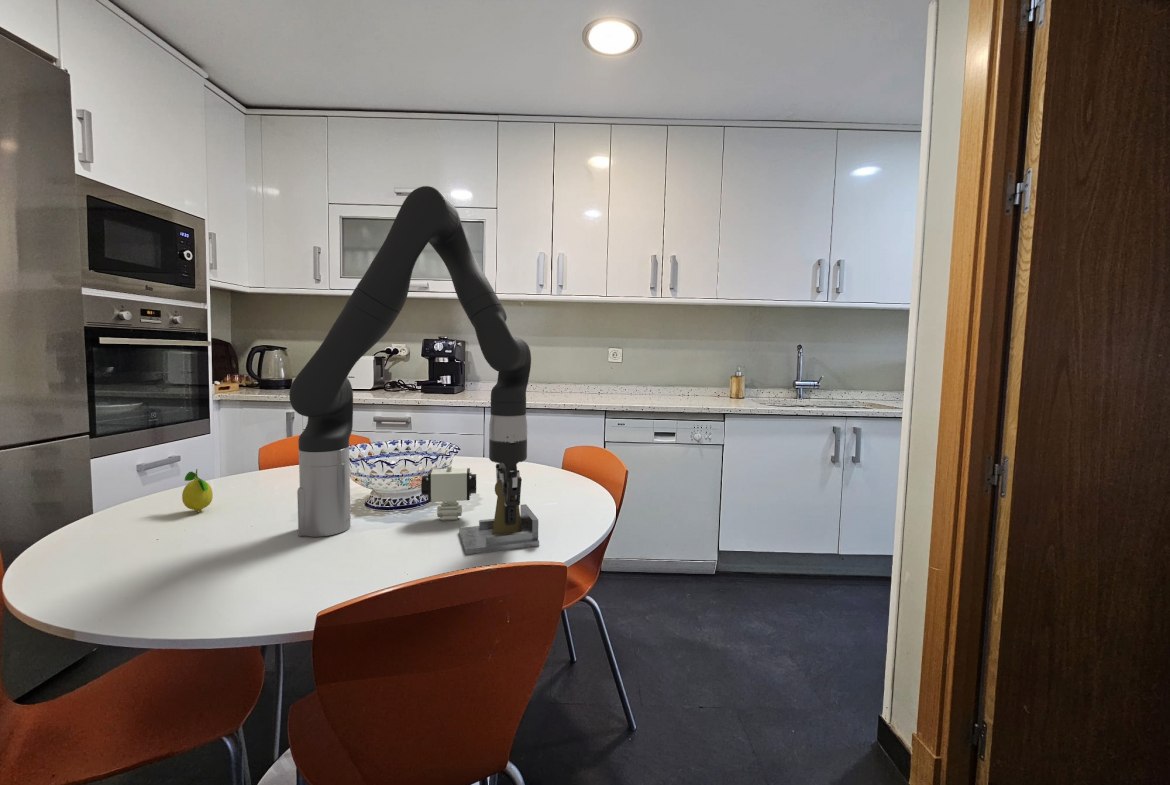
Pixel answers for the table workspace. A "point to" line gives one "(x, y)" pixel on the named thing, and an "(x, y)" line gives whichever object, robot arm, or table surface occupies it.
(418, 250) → the robot arm
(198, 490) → the lemon
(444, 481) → the pneumatic valve
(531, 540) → the bracket
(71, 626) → the table surface
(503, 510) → the cork
